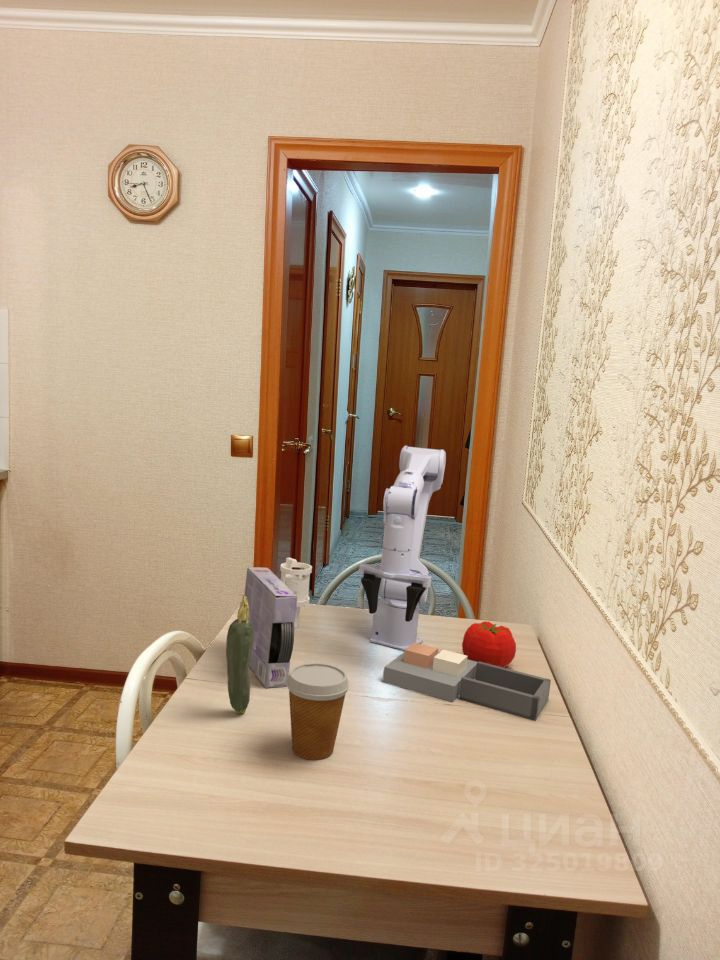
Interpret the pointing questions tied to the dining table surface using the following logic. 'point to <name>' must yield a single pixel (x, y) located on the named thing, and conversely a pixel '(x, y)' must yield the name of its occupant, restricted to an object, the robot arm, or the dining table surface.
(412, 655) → the tile terracotta
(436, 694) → the slate board
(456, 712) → the dining table surface
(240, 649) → the vegetable
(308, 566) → the strainer
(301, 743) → the disposable coffee cup
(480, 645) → the tomato
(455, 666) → the tile cream
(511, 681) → the box
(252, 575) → the cake pan box
